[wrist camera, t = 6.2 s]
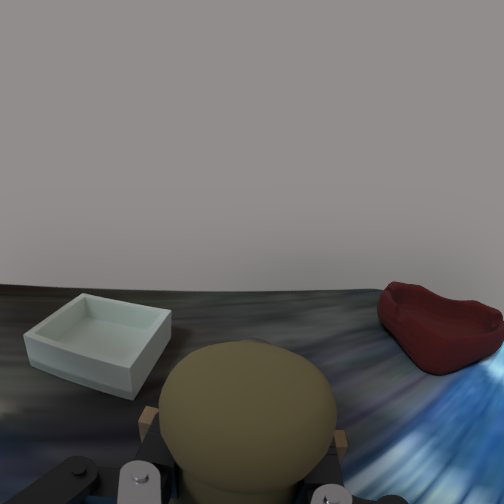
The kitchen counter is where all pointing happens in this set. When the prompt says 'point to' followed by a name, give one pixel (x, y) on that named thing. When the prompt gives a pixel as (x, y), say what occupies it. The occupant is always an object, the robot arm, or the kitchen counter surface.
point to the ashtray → (439, 327)
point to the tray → (100, 343)
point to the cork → (245, 423)
